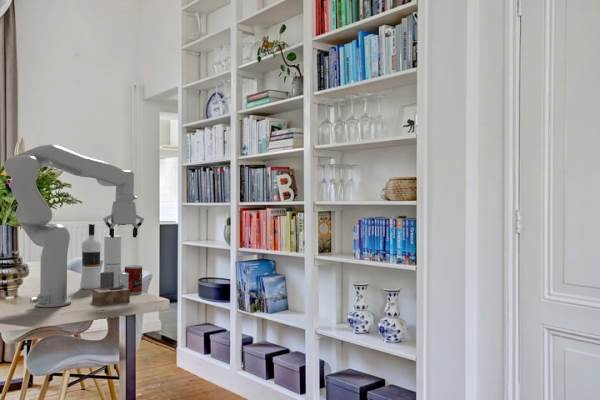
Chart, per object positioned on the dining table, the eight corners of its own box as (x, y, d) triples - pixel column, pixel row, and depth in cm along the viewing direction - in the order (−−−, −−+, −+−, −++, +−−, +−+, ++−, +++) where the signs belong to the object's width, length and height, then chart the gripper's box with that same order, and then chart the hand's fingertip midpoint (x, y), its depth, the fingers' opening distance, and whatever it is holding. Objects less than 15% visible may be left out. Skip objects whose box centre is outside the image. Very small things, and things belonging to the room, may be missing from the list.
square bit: (109, 296, 226) (109, 273, 226) (100, 296, 226) (100, 272, 226) (113, 294, 230) (113, 272, 230) (104, 294, 230) (104, 271, 230)
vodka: (79, 290, 241) (80, 224, 241) (80, 286, 249) (81, 223, 249) (101, 289, 244) (102, 224, 244) (101, 286, 253) (102, 223, 253)
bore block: (99, 305, 208) (99, 292, 208) (92, 301, 215) (92, 289, 215) (129, 301, 215) (129, 289, 215) (121, 298, 222) (121, 286, 222)
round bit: (123, 297, 224) (124, 274, 224) (116, 297, 225) (116, 273, 225) (130, 296, 227) (130, 273, 227) (122, 295, 229) (123, 272, 229)
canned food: (135, 292, 238) (135, 267, 238) (120, 290, 241) (120, 266, 241) (145, 289, 245) (145, 265, 245) (131, 288, 248) (131, 264, 248)
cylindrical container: (115, 293, 234) (115, 236, 234) (100, 292, 236) (101, 236, 236) (123, 290, 241) (124, 235, 241) (109, 289, 243) (110, 235, 243)
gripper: (141, 199, 240) (140, 236, 240) (102, 197, 231) (100, 237, 230) (146, 199, 234) (145, 237, 234) (106, 197, 224) (105, 238, 224)
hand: (123, 237), depth 232 cm, fingers open, 9 cm apart
